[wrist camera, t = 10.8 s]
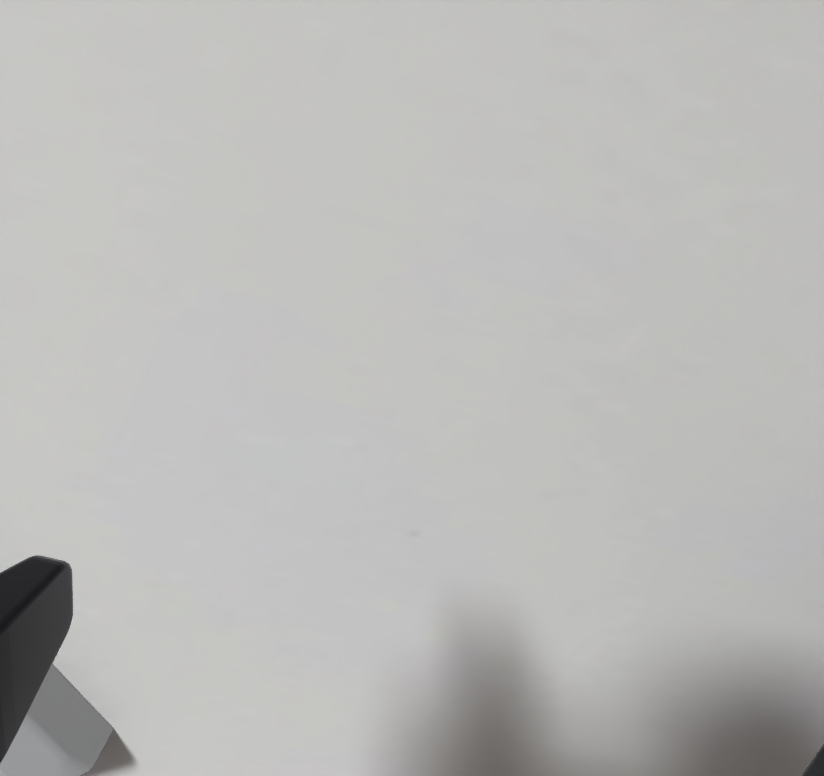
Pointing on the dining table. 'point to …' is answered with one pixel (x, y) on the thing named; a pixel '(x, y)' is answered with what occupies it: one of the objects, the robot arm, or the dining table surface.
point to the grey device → (57, 733)
